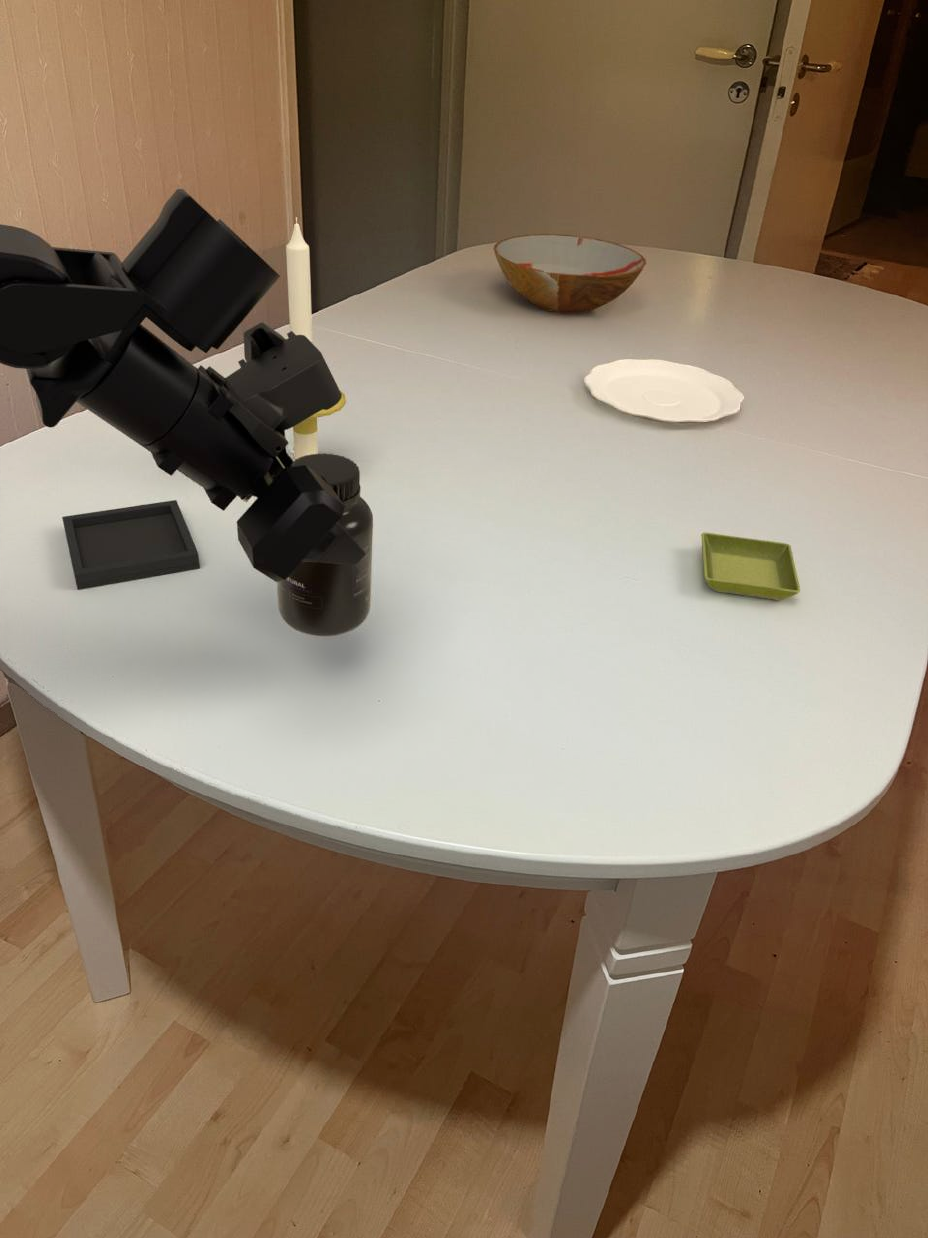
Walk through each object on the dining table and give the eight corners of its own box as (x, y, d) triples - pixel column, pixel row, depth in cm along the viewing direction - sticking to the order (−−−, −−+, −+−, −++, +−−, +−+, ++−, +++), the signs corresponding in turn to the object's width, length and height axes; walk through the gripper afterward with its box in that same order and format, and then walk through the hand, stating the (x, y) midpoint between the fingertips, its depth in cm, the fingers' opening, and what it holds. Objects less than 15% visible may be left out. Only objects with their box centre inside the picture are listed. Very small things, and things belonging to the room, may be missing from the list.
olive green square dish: (795, 610, 85) (801, 592, 84) (699, 597, 86) (704, 578, 85) (784, 561, 92) (790, 543, 91) (696, 549, 93) (701, 531, 92)
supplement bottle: (266, 632, 67) (256, 483, 60) (294, 581, 72) (288, 440, 65) (359, 646, 66) (360, 497, 59) (380, 593, 72) (383, 452, 65)
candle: (316, 455, 105) (308, 199, 89) (373, 488, 99) (375, 222, 83) (241, 480, 99) (217, 211, 83) (297, 517, 93) (283, 237, 77)
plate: (551, 388, 125) (553, 376, 124) (654, 360, 136) (657, 349, 135) (668, 446, 112) (671, 433, 111) (771, 410, 124) (775, 398, 123)
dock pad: (77, 589, 81) (74, 574, 80) (65, 530, 88) (61, 516, 88) (200, 568, 85) (198, 553, 84) (178, 513, 92) (176, 499, 91)
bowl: (475, 314, 148) (479, 263, 143) (504, 273, 168) (508, 226, 163) (632, 336, 144) (641, 284, 140) (642, 291, 164) (651, 244, 160)
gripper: (305, 357, 47) (479, 511, 58) (215, 258, 61) (370, 399, 71) (166, 516, 49) (361, 638, 60) (107, 385, 62) (275, 504, 73)
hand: (342, 533), depth 66 cm, fingers closed on supplement bottle, 7 cm apart
